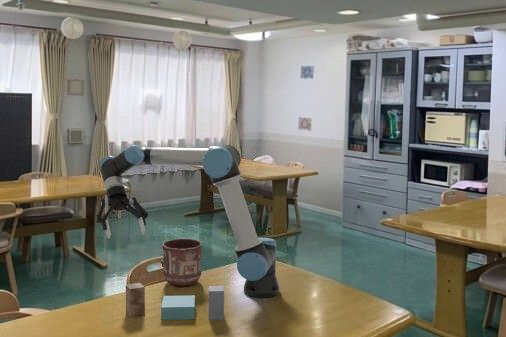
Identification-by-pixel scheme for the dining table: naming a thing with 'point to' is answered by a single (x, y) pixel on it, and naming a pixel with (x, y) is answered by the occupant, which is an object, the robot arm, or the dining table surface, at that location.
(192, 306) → the teal base block
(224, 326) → the dining table surface
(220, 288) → the slate block
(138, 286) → the walnut block
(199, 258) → the pottery
